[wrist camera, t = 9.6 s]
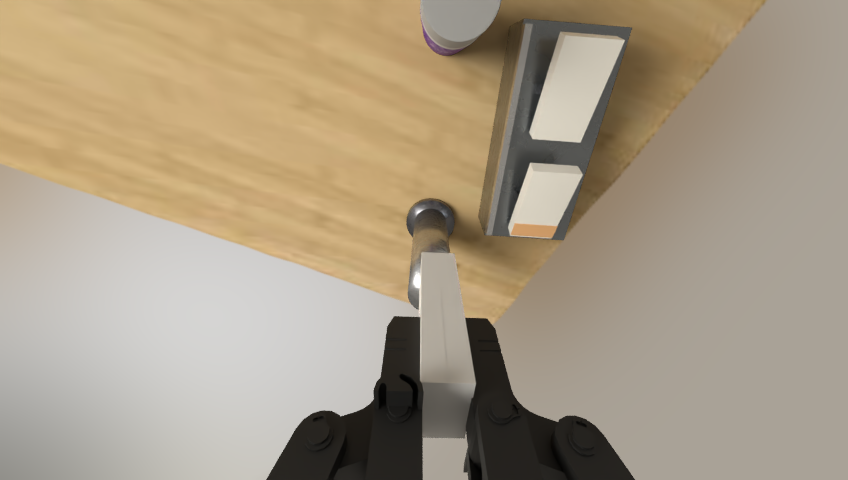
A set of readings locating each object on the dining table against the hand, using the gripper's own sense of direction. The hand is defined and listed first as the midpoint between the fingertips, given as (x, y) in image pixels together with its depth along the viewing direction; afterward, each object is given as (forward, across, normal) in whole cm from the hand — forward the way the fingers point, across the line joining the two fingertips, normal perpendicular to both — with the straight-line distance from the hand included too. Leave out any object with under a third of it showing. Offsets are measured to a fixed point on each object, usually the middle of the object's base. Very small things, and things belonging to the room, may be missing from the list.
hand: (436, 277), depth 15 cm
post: (+24, +1, -9) cm, 26 cm away
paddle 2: (+17, +11, -3) cm, 20 cm away
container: (+25, +1, +12) cm, 27 cm away
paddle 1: (+17, +12, +7) cm, 22 cm away
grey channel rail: (+24, +12, +2) cm, 27 cm away
